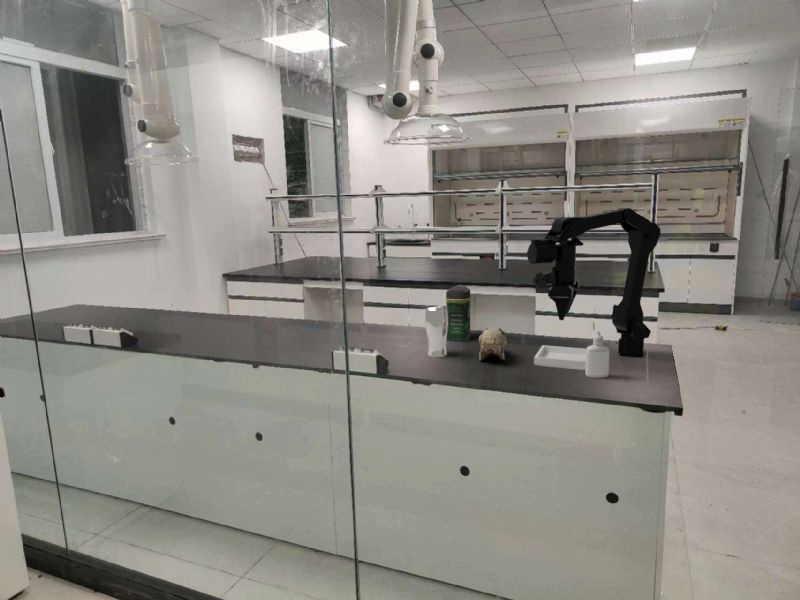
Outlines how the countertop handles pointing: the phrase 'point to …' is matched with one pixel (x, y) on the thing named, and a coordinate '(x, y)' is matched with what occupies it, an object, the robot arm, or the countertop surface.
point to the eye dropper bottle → (597, 358)
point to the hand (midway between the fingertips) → (563, 316)
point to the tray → (561, 357)
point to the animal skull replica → (492, 344)
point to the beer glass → (436, 330)
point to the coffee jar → (458, 313)
